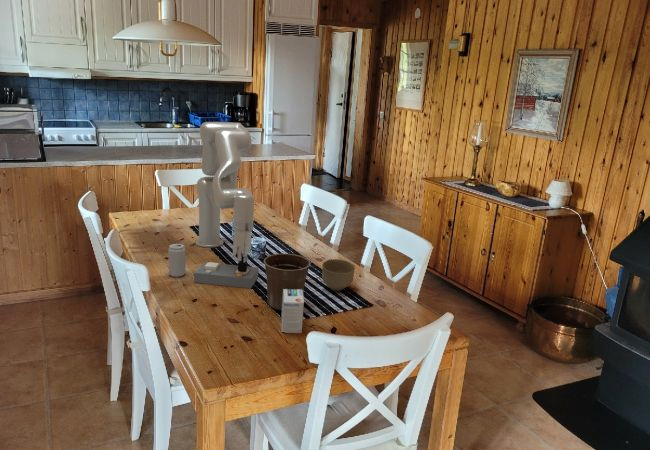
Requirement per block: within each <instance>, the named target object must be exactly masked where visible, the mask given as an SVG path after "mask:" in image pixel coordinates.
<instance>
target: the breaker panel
mask: <svg viewBox="0 0 650 450" xmlns="http://www.w3.org/2000/svg"><path fill="white" fill-rule="evenodd" d="M207 263H208V262H205V261H204V262H203V263H202V264H201V265H200V266H199V267H198V268H196V270H195V272H193V275H194V278H193V283H195V284H205V285H214V286H224V287H231V288H232V287H233V288H241V289H252V288H253V286H254V284H255V283H256V282H257V279H258V278H259V267H258V266H257V267H256V266H248V265H247V269H249V272H248V274H247V275H245V274H242V273H237V274H236V273H235V272H236V271H237V269H238V264H228V263H227V264H226V263H219V269H218V270H217V271H211V270H205V265H206V264H207Z"/></svg>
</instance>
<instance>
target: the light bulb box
mask: <svg viewBox="0 0 650 450" xmlns="http://www.w3.org/2000/svg"><path fill="white" fill-rule="evenodd" d="M304 304H305V298H304V292H303V290H301V289H283V298H282V310H281V317H280V318H281V320H280V321H281V328H280V329H281V331H280V332H281V333H282V332H285V333H284V334H286V333H287V334H302V332H303V331H302V330H303V321H304V320H303V316H304Z"/></svg>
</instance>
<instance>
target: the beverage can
mask: <svg viewBox="0 0 650 450" xmlns="http://www.w3.org/2000/svg"><path fill="white" fill-rule="evenodd" d="M168 247H169V248H168V250H167V251H168V253H167V254H168V256H167V257H168V275H169V276H171V277H173V278H180V277H183V276H184V275H186V270H187V269H186V268H187V267H186V263H187V262H186V256H187V255H186V247H185V245H184V244H183V243H172V244H170V245H169V246H168Z"/></svg>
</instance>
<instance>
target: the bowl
mask: <svg viewBox="0 0 650 450" xmlns="http://www.w3.org/2000/svg"><path fill="white" fill-rule="evenodd" d="M321 270H322V271H321V279H322V281H323V282H324V284H325V285H326V286H328V287H329V288H330V289H331V290H332V291H342V290H344V289H345V288H347V287H349V286H350V285H352V283H353V281H354V276H355V275H354V274H355V270H356V266H355V264H354V263H352V262H351V261H348V260H344V259H337V258H335V259H334V258H333V259H327V260H324V261H323V263H322V269H321Z"/></svg>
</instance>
